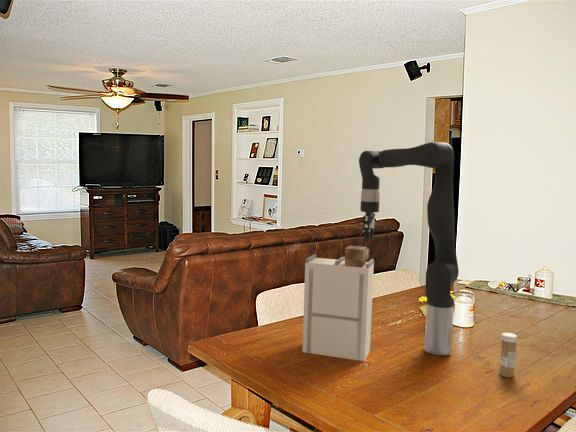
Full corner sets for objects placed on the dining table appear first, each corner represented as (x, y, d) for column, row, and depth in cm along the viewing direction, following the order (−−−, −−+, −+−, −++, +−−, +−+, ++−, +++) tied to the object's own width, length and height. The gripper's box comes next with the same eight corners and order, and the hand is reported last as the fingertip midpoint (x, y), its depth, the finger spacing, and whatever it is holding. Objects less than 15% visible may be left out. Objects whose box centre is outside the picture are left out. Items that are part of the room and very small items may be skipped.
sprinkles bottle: (496, 372, 167) (499, 332, 165) (509, 372, 167) (512, 332, 166) (503, 378, 162) (506, 336, 161) (517, 377, 163) (520, 336, 161)
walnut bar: (372, 257, 191) (373, 241, 190) (362, 267, 171) (363, 249, 170) (356, 256, 193) (357, 240, 192) (344, 266, 173) (345, 248, 172)
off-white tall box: (369, 350, 183) (374, 259, 180) (364, 361, 173) (368, 264, 170) (310, 342, 190) (313, 254, 187) (302, 352, 180) (305, 259, 177)
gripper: (376, 201, 200) (374, 242, 202) (381, 199, 214) (380, 238, 215) (357, 200, 203) (356, 241, 204) (364, 199, 216) (362, 237, 218)
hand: (368, 239), depth 210 cm, fingers open, 8 cm apart
